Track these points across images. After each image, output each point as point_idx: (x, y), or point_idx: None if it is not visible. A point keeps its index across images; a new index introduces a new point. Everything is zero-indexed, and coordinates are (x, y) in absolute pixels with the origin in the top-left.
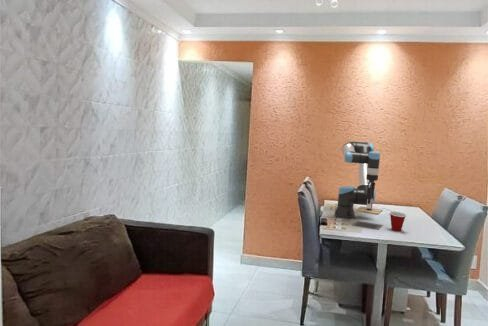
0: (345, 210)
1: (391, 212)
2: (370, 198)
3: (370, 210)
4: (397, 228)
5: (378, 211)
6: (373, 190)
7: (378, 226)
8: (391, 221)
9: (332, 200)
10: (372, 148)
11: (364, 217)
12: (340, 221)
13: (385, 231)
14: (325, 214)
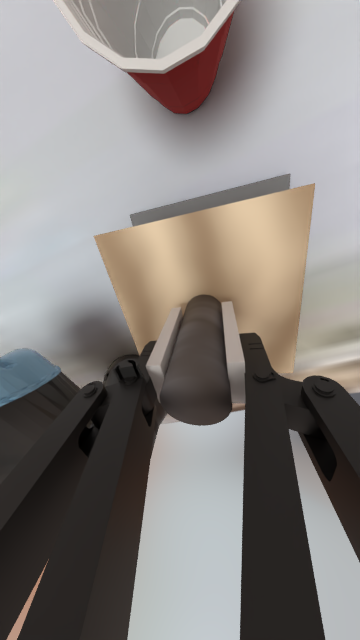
0: (158, 402)
1: (136, 58)
2: (329, 380)
3: (216, 297)
4: (218, 7)
5: (195, 230)
6: (59, 535)
7: None
8: (211, 66)
9: None
10: None
11: (73, 337)
12: None
13: (268, 126)
14: (164, 422)
